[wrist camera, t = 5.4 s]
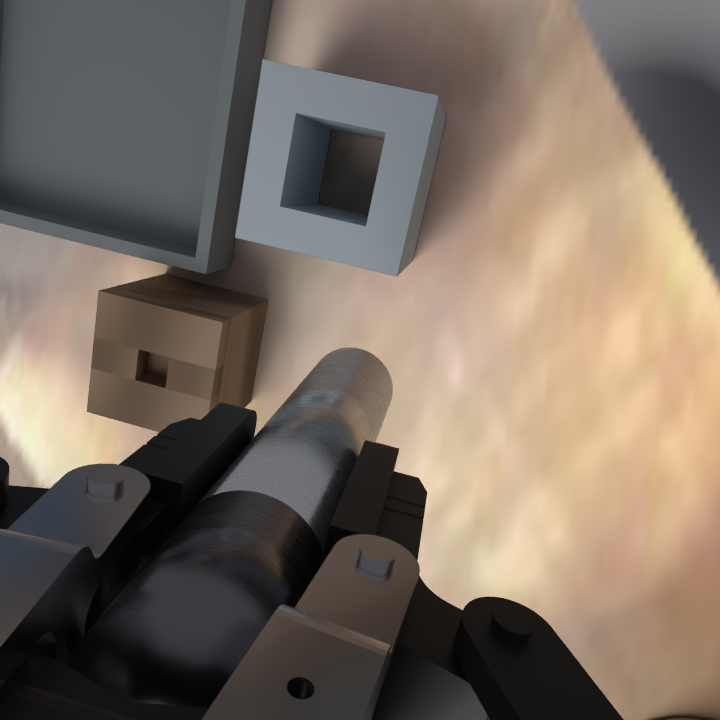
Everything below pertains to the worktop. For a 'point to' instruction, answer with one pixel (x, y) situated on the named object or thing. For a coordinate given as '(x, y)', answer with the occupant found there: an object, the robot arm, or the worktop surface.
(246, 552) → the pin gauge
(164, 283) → the walnut block
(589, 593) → the worktop surface
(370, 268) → the grey socket cube
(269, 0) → the tray
